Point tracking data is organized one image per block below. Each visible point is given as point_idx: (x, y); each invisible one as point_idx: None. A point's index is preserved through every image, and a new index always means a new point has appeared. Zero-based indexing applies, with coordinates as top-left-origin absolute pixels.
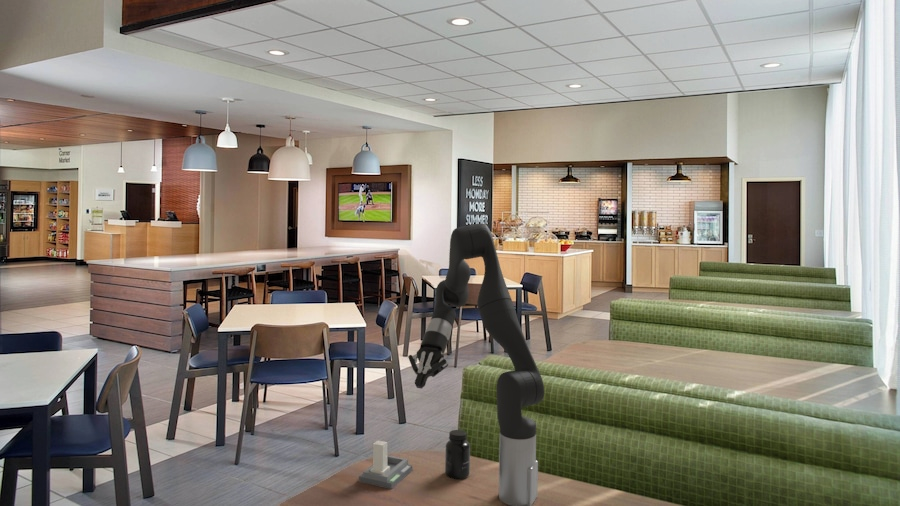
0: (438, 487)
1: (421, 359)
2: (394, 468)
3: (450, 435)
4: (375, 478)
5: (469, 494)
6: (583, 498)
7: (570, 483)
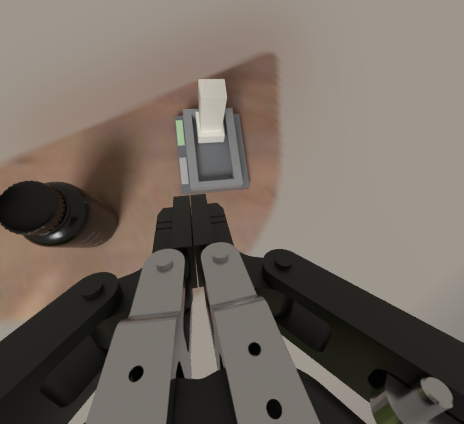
0: (103, 161)
1: (280, 387)
2: (191, 142)
3: (48, 185)
4: None
5: (35, 164)
6: None
7: None
